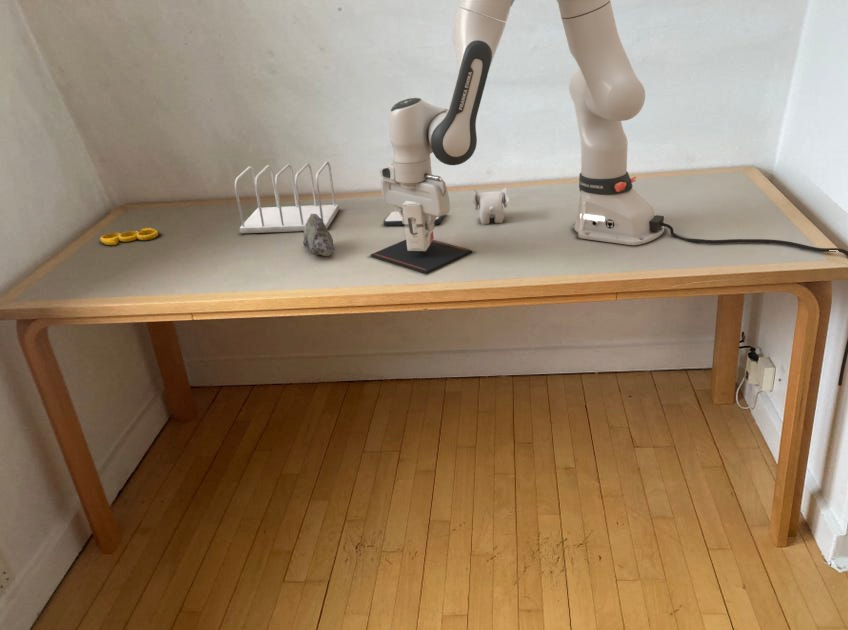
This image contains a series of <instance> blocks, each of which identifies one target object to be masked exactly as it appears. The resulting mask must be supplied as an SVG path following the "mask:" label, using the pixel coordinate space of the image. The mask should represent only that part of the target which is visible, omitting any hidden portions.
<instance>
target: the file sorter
mask: <svg viewBox="0 0 848 630" xmlns="http://www.w3.org/2000/svg"><path fill="white" fill-rule="evenodd" d="M292 167H293V166H292V165H291V164H290V163H287V164H286V165H285V166H284V167H283V168H281V170H279V171H278V172H277V173H276V174H275V177H274V173H273V168H272V166H271V164H267V165H266V166H264V167H263V168H262V169H261V170H260V171H259V172H258V174H256V173H255V170H254V168H253V167H252V166H250V165H249V166H248V167H246V169H244V170H243V171H242V172H241V173H240V174H239V175H238V176H237V177H236V178H235V180H234V192H235V197H236V201H237V207H238V212H239V217H240V222H241V226H240V227H239V233H240V234H261V233H262V234H264V233H266V234H267V233H288V232H289V233H291V232H304V228H305V224H306V223H307V220H308V218H309V217H310V214H317V215H318V216H319V217H320V218H321V219H322V220H323V222H324V225H325V227H326V229H327V230H328V228H329V226H330V225H331V223H332V222H333V220H334V218H335V217H336V216H337V213H338V212H339V211H340V206H339V204H337V203H336V198H335V190H334V182H333V175H332V174H333V173H332V168H331V164H330V162H329V161H328V160H327V161H325V162H324V163H323V164H322V166H321V167H320V168H319V169H318V170H317V171H316V174H315V182H314V177H313V176H314V175H313V171H312V166H311V164H310V163H308V162H307V163H305V164H304V165H303V166H302V167H301V168H300V169H299V170H298V171H297V172H296V173H295V176H294V172H293V168H292ZM307 167H308V170H309V177H310V183H311V190H312V198H313V204H314V205H312V204H311V205H310V204H309V205H301V199H300V193H299V186H298V177H299V175H300V174H301V173H302V172H303V171H304V170H305V169H306V168H307ZM325 167H327V168H328V174H329V180H330V181H329V182H330V190H331V197H332V204H322V201H321V194H320V187H319V185H320V184H319V177H320V176H319V175H320V174H321V173H322V171H323V170H324V169H325ZM288 168H289V171H290V176H291V182H292V183H291V184H292V191H293V197H294V202H295V205H288V206H287V205H286V206H284V205H283V206H282V204H281V198H280V193H279V185H278V180H279V179H278V178H279V176H280V175H282V174H283V172H285V170H287V169H288ZM267 169H269V172H270V178H271V183H272V186H273V192H274V197H275V203H276V206H264V207H262V203H261V197H260V191H259V184H258V180H259V177H260V176H262V174H264V172H265V171H266V170H267ZM249 170H250V171H251V174H252V179H253V185H254V190H255V195H256V201H257V206H258V207H257V208H256V209H255V210H254V211H253V212H252V213H251V215H250V216H249V217H248V218H247V219H246V220H244V216H243V210H242V205H241V201H240V196H239V190H238V183H239V182H238V181H239V180H240V179H241V178H242V177H243V176H244V175H245V174H246V173H248V171H249ZM314 183H315V184H314ZM315 185H316V187H315ZM315 188H316V191H315ZM316 193H317V198H316ZM317 200H318V204H317Z"/></svg>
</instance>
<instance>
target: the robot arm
mask: <svg viewBox="0 0 848 630" xmlns="http://www.w3.org/2000/svg"><path fill="white" fill-rule="evenodd" d="M515 1H516V0H459V4H458V7H457V10H456V14H455V18H454V22H453V30H452V31H453V32H452V43H453V47H454V51H455V54H456V60H457V74H456V79H455V82H454V87H453V90H452V94H451V98H450V102H449V106H448V108H444V107H439V106H436V105H432V104H430V103H428V102H426V101H425V100H424V99H422V98H421V97H420V98H419V97H412V98H411V97H410V98H406V99H403V100H400V101H398V102H397V103H395V104H393V106H392V107H391V108H390V111H389V117H388V119H389V125H388V126H389V137H390V144H391V147H392V150H393V155H392V163H391V164H388V165H385V166H383V167H381V168H380V169H379V175H380V177H381V181H380V182H381V183H380V185H381V195H382V199H383V201H384V203H385V204H386V205H389V206H393V207H396V208H397V212H399V214H400V215H401V217H402V222H403V224H404V216H403V208H402V205H403V204H404V203H405V202H406V201H411V202H416V203H420V204H421V206H422V213H426V214H427V218H429V219H428V222H427V223H425V229H426V230H428V231H432V230H433V231H434V230H435V224H434V222H435V220H436V218H437V216H438V217H440V216H443V215H444V216H445V215H447V214H449V213H450V211H451V203H450V196H449V192H448V188H447V185H446V182H445V181H444V179H443V178H442V176H440V175H434V174H433V172H432V171H433V170H432V161H431V154H432V153H433V155H434V157H435V158H436V160H438V161H439V162H440V163H442V164H444V165H447V166H458V165H462V164H464V163H466V162H467V161H468V160H470V159H471V157H472V156H473V155H474V153H475V151H476V149H477V143H478V138H477V136H478V135H477V124H476V123H477V117H478V112H479V109H480V105H481V101H482V97H483V94H484V91H485V87H486V84H487V83H486V82H487V78H488V74H489V72H490V69H491V66H492V63H493V61H494V57H495V55H496V52H497V50H498V47H499V45H500V42H501V39H502V37H503V34H504V31H505V29H506V26H507V22H508V19H509V15H510V11H511V7H512V6H513V4H514V2H515ZM556 2H557V5H558V9H559V13H560V14H559V15H560V17H561V21H562V25H563V29H564V33H565V34H564V35H565V37H566V41H567V45H568V50H569V53H570V54H571V55H572V57H573V58H574V60H575V62H576V63H577V66H578V69H577V70H575V72H574V73H573V74H572V76H571V77H570V80H569V83H568V91H569V95H570V98H571V100H572V102H573V104H574V110H575V115H576V122H577V127H578V133H579V139H580V173H579V176H578V189H579V194H580V195H579V204H578V208H577V209H578V212H577V216H576V219H575V223H574V226H573V229H574V230H575V232H576V233H577V237H578V238H579V239H584V240H591V241H597V242H598V241H599V242H604V243H605V242H606V243H612V244H620V245H627V246H638V245H639V246H640V245H643V244H647V243H649V242H652V241H654V240H656V239H657V238H659V237H661V236H662V235H663V234H664V232H665V228H667V229H668V230H669V232H670V235H671V236H672V237H673V238H675V239H679V240H682V241H685V242H689V243H700V244H732V243H734V244H735V243H740V244H741V243H743V244H747V243H749V244H750V243H757V244H758V243H759V244H761V243H762V244H778V245H785V246H791V247H795V248H800V249H805V250H808V251H809V250H810V251H814V252H822V253H837V252H836V251H829V250H838V251H839V252H838V253H840V254H841V253H842V254H844V255H845V256H847V257H848V250H846V249H843V248H841V247H840V248H839V247H827V248H826V247H816V246H811V245H806V244H802V243H797V242H793V241H788V240H781V239H780V240H779V239H770V238H769V239H766V238H765V239H764V238H732V239H730V238H729V239H702V238H687V237H682V236H679V235H678V234H676V233H675V232H674V231H675V230H674V227H673V226H672V225H670V224H669V223H665V221H664V220H665V215H660V214H659V215H657V214H656V213H655V210H654V207H653V206H652V205H651V203H649V202H648V201H647V200H646V199H645V198H644V197H642V195H641V194H640V193H638V192H637V191H636V190H635V189H634V188H633V187H634V185H633V183H635V182H637V180H636V179H637V176H633V177H630V174H629V172H628V170H627V169H628V147H629V146H628V138H627V135H626V133H625V130H624V127H623V124H622V122H623V121H624V122H625V121H628V120H629V121H630V120H631V119H634V117H637V115H638V114H639V113H640V112H641V110H642V109H643V107H644V104H645V101H646V90H645V87H644V84H643V83H642V82H641V81H640V80H639V78H638V76H637V74H636V73H635V72H634V68H633V66H632V64H631V62H630V59H629V57H628V55H627V53H626V50H625V48H624V46H623V43H622V41H621V38H620V35H619V33H618V29H617V24H616V20H615V15H614V11H613V7H612V2H611V0H556ZM842 356H843V357H842V361H841V365H840V371H839V376H838V382H837V386H838V387H842V385H843V379H844V373H845V368H846V363H847V358H848V338H847V339H846V344H845V348H844V353H843V355H842Z"/></svg>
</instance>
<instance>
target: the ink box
mask: <svg viewBox="0 0 848 630" xmlns="http://www.w3.org/2000/svg"><path fill="white" fill-rule="evenodd" d="M402 208H403V216H404V224H405V225H404V233H405V240H406V242H407V250H408V251H426V250H427V248H428V247H429V245H430V244H431V242H432V241H433V240H435V237H434V230H432V231H428V230H426V229H425V223H427V222H428V219H429V218H427V214H426V213H422V206H421V204H420V203H416V202H411V201H406V202H405V203H404V204H403V205H402Z"/></svg>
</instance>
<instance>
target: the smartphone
mask: <svg viewBox="0 0 848 630" xmlns="http://www.w3.org/2000/svg"><path fill="white" fill-rule="evenodd" d="M444 217H445V215H443V216H440V217H438V216H437V218H436V220H435V222H434V225H439V224H440V223H441V222H442V220H443V219H444ZM383 225H384V226H385V227H395V226H405V224H403V222H402V217H401V215H400V214H399V212H398V211H391V212H389V213H388V214H387V216H386V217H385V218H384V219H383Z"/></svg>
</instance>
